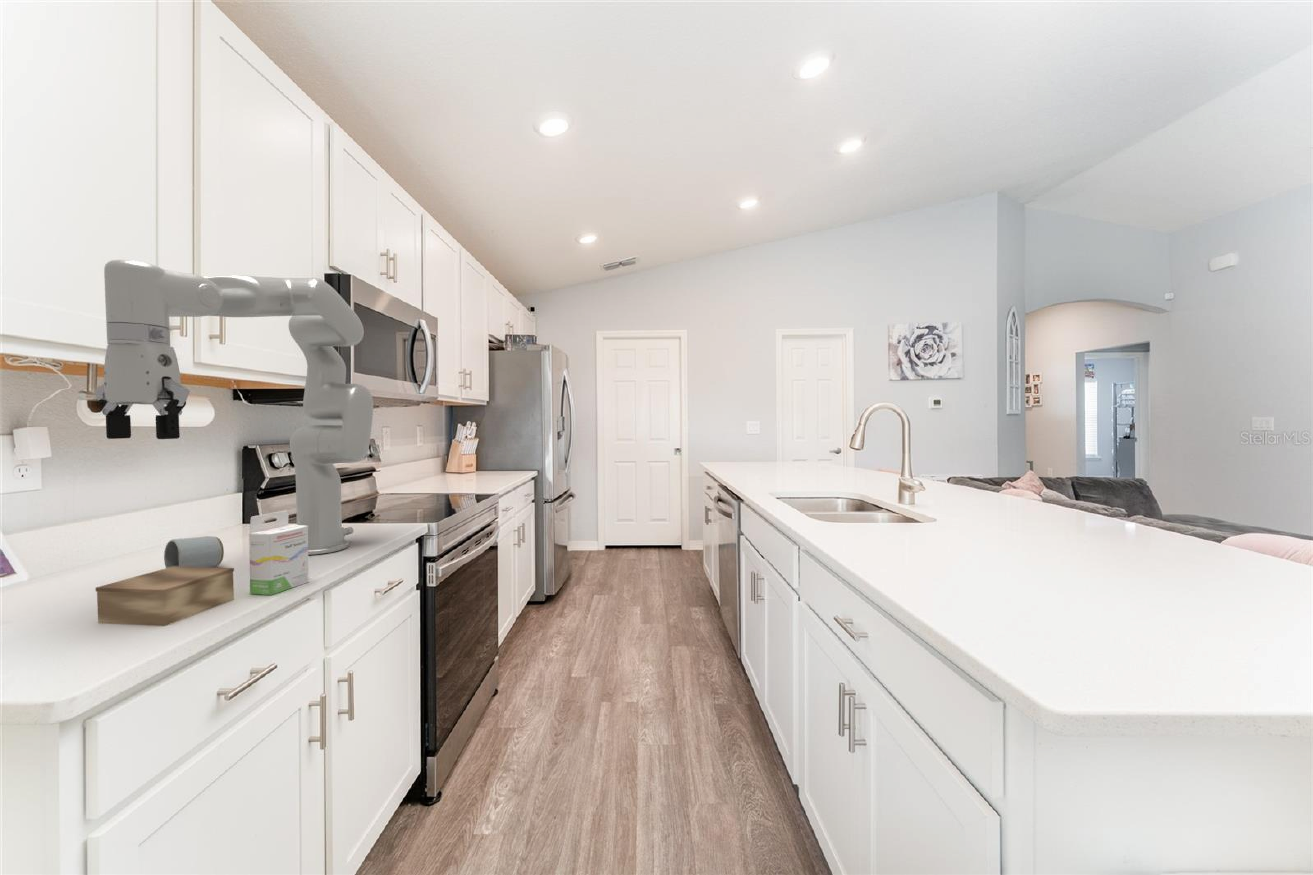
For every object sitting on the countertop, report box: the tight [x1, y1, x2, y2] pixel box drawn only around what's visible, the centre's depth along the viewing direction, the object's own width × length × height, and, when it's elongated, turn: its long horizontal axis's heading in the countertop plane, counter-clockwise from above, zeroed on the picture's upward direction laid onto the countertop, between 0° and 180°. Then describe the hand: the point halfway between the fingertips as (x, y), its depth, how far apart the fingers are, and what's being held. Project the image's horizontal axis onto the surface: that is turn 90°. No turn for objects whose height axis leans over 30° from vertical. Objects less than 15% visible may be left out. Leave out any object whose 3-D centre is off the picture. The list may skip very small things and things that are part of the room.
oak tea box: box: [95, 566, 235, 627], centre depth 88 cm, size 12×12×6 cm
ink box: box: [248, 509, 309, 596], centre depth 100 cm, size 9×5×15 cm, turn 168°
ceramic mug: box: [163, 535, 225, 568], centre depth 111 cm, size 11×8×8 cm
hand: (143, 438), depth 86 cm, fingers open, 9 cm apart
